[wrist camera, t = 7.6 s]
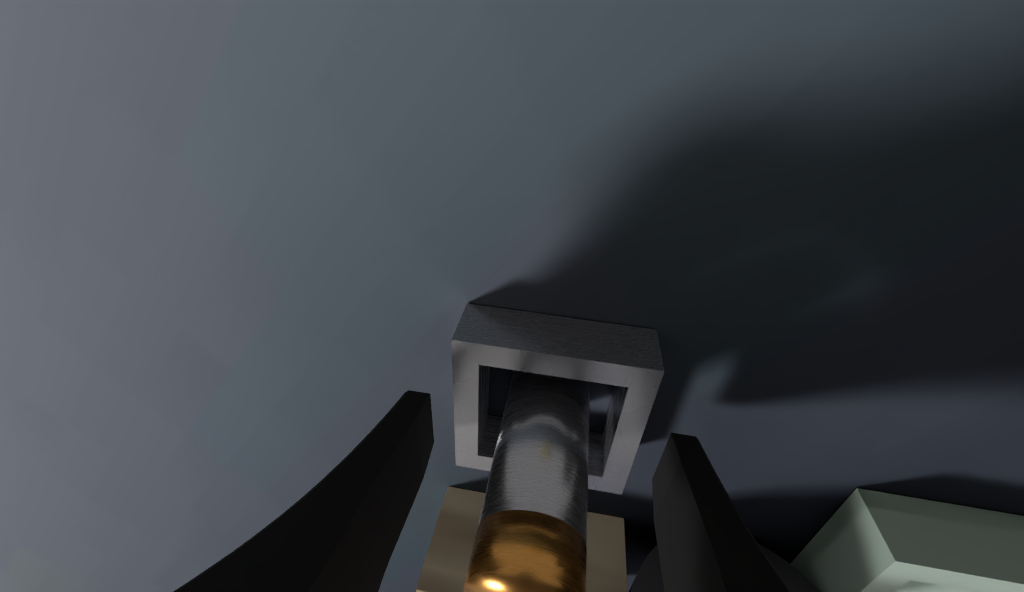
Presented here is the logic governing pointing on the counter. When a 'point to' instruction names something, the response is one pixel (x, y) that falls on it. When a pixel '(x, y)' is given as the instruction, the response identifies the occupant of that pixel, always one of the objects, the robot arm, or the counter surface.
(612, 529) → the block
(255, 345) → the counter surface
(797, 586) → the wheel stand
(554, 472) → the pin
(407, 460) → the robot arm
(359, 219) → the counter surface
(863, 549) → the tray
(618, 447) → the pin socket
